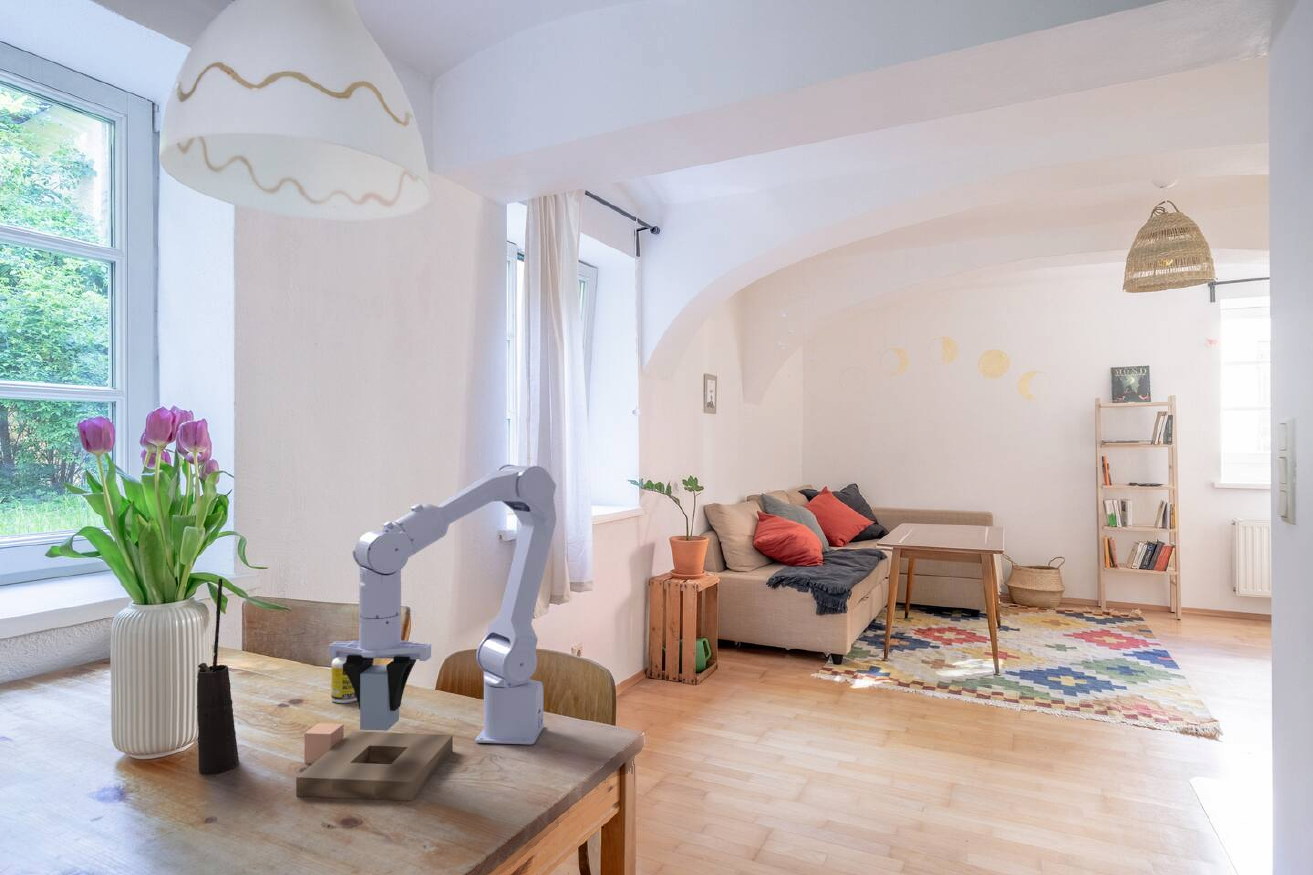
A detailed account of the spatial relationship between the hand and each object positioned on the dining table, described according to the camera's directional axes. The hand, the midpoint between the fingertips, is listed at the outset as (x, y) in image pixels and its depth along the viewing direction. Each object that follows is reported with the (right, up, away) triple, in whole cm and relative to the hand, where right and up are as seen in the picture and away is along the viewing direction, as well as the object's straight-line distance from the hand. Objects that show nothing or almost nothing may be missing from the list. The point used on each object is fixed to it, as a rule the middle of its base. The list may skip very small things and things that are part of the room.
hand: (379, 707), depth 109 cm
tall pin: (0, -2, 0) cm, 2 cm away
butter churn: (-25, -9, +2) cm, 27 cm away
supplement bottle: (-17, -9, +30) cm, 36 cm away
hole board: (0, -9, 0) cm, 9 cm away
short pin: (-10, -9, +5) cm, 15 cm away
